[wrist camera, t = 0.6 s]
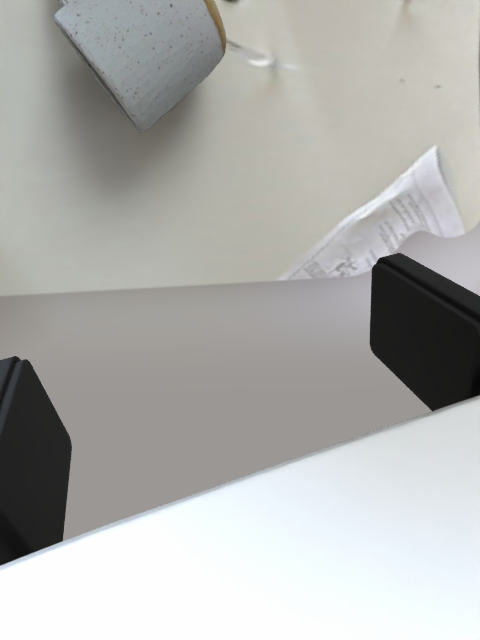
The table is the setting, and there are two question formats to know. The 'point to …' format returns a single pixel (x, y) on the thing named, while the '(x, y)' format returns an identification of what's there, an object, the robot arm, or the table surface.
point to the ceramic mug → (145, 49)
